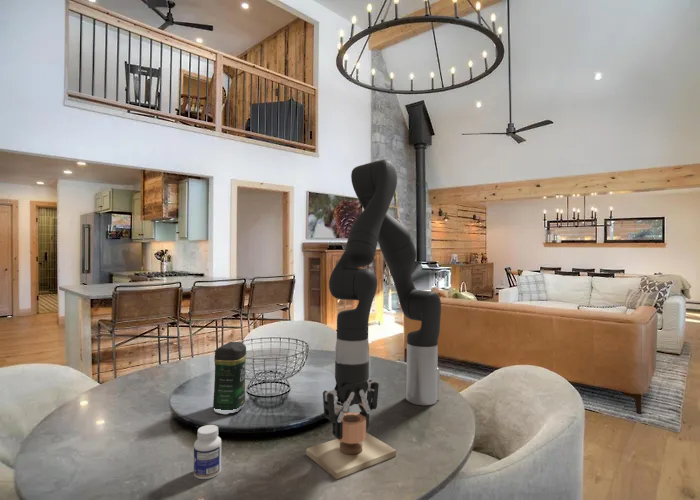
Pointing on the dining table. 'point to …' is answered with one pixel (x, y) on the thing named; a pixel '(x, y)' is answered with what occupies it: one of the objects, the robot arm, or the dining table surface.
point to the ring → (353, 429)
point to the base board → (349, 456)
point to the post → (354, 447)
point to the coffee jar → (229, 376)
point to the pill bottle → (207, 452)
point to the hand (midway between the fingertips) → (351, 433)
